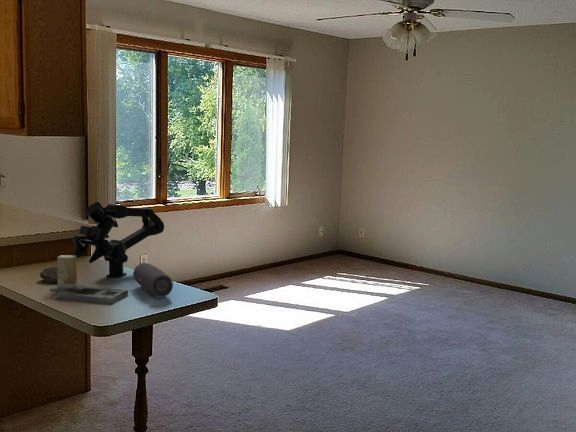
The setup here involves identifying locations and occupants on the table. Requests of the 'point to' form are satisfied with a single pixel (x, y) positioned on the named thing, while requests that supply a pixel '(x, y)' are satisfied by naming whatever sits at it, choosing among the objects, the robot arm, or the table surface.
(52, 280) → the concrete sample
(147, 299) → the table surface
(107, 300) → the grey black flat block
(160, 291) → the bluetooth speaker
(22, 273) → the table surface
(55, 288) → the pad
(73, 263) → the skincare box
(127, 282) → the table surface
